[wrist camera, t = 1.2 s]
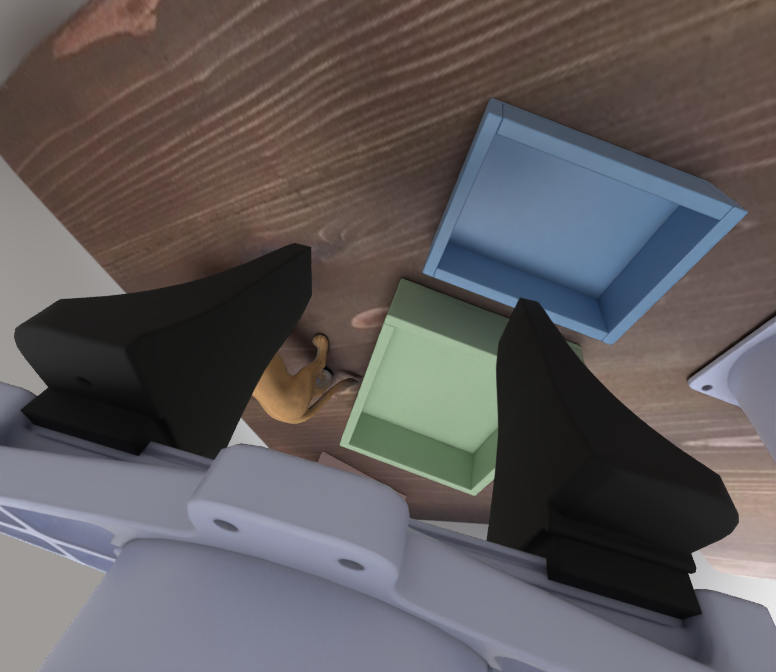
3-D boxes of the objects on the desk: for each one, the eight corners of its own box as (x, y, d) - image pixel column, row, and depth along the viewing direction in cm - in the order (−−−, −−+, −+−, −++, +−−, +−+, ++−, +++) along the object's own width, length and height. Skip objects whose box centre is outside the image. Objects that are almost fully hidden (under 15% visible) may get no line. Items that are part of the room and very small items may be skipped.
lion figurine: (194, 295, 29) (103, 376, 22) (210, 249, 25) (108, 329, 19) (346, 390, 32) (306, 486, 26) (378, 361, 29) (341, 463, 22)
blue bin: (709, 181, 16) (749, 212, 14) (598, 305, 21) (611, 345, 19) (490, 96, 16) (488, 111, 13) (431, 242, 21) (421, 273, 19)
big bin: (401, 277, 23) (386, 314, 20) (580, 345, 23) (592, 392, 20) (353, 408, 34) (339, 445, 31) (477, 455, 34) (475, 496, 31)
